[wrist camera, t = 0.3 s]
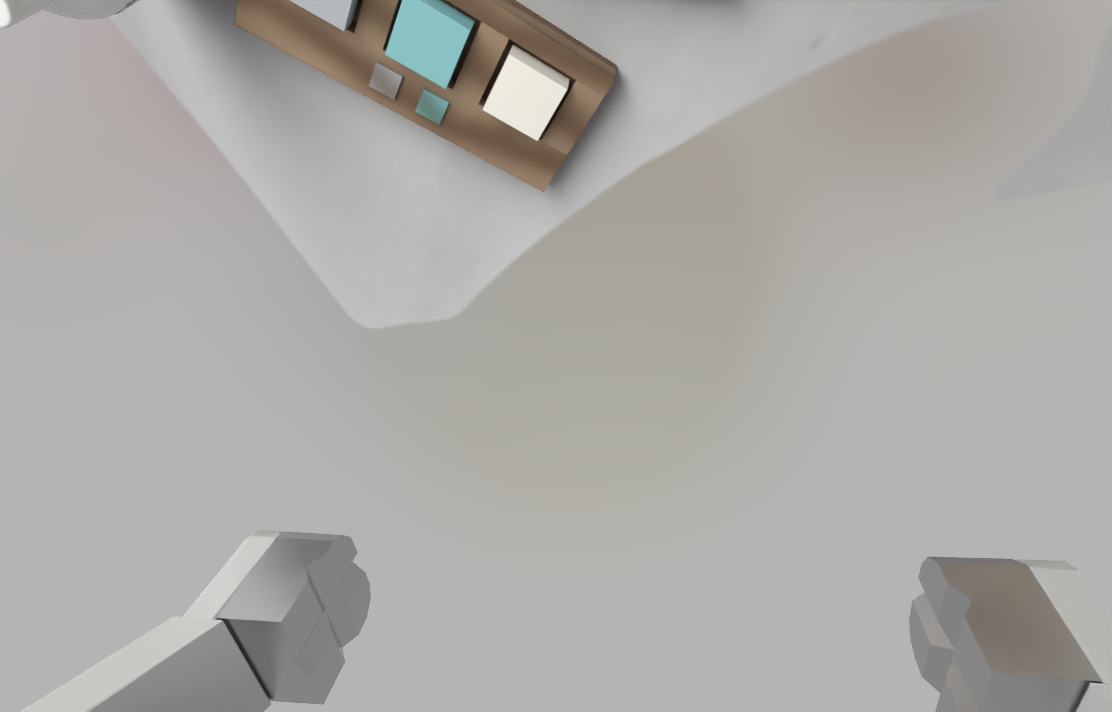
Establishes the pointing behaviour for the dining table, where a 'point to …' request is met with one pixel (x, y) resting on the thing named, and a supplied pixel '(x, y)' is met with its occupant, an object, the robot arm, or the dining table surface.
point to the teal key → (429, 38)
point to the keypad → (461, 103)
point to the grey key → (331, 10)
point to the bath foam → (59, 9)
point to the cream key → (526, 93)
